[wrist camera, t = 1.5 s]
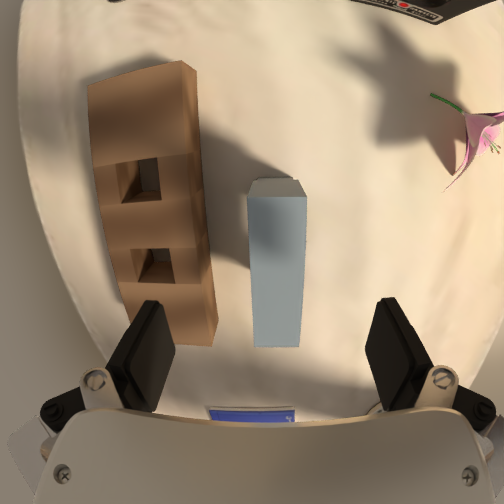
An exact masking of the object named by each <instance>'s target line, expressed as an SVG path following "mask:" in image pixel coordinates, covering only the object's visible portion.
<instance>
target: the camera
mask: <svg viewBox="0 0 504 504" xmlns="http://www.w3.org/2000/svg"><path fill="white" fill-rule="evenodd" d="M350 1H355V2H360V3H365V4H369V5H373V6H377V7H381V8H385V9H389V10H392V11H396V12H399V13H402V14H405V15H408V16H411V17H414V18H417V19H420V20H423V21H425V22H428V23H430V24H433V25H438V24H440V23H442V22H444V21H446V20H448V19H451V18H453V17H455V16H458V15H460V14H462V13H465V12H467V11H469V10H472V9H474V8H477V7H480V6H482V5H485V4H488V3H491V2H493V1H496V0H350Z"/></svg>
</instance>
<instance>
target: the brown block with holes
mask: <svg viewBox="0 0 504 504" xmlns="http://www.w3.org/2000/svg"><path fill="white" fill-rule="evenodd" d="M88 117H89V132H90V144H91V154H92V162H93V170H94V177H95V184H96V190H97V196H98V202H99V208H100V213H101V218H102V223H103V228H104V232H105V237H106V241H107V245H108V249H109V253H110V257H111V261H112V265H113V269H114V272H115V276H116V279H117V283H118V286H119V290H120V293H121V296H122V299H123V302H124V306H125V309H126V312H127V315H128V318H129V320H130V323H132V321H133V320H134V318H135V316H136V315H137V313H138V311H139V310H140V308H141V306H142V305H143V303H144V301H145V300H157V301H159V303H160V304H162V305H163V307H164V310H165V314H166V318H167V321H168V325H169V328H170V332H171V335H172V338H173V342H174V344H183V345H196V346H212V343H213V339H214V336H215V332H216V328H217V324H218V313H217V306H216V299H215V291H214V283H213V275H212V267H211V258H210V249H209V240H208V231H207V221H206V211H205V200H204V189H203V177H202V164H201V150H200V135H199V119H198V99H197V74H196V70H194V69H193V68H192V67H190V66H189V65H187V64H186V63H185V62H183V61H182V60H181V61H175V62H170V63H165V64H160V65H156V66H152V67H147V68H143V69H139V70H136V71H132V72H128V73H125V74H121V75H118V76H115V77H112V78H109V79H106V80H103V81H100V82H97V83H94V84H91V85H88ZM156 157H157V162H158V172H159V181H160V189H161V190H157V191H146V192H142V187H141V180H140V171H139V163H138V160H141V159H148V158H156ZM151 248H169V251H170V256H171V262H154V259H153V254H152V249H151Z"/></svg>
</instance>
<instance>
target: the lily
mask: <svg viewBox="0 0 504 504" xmlns="http://www.w3.org/2000/svg"><path fill="white" fill-rule="evenodd" d="M430 96H432V97H434V98H437V99H439V100H441V101H443V102H445V103H447V104H449V105H451V106H452V107H454V108H455V109H457V110H458V111H459V112H460V113H462V114H463V115H464V117H465V122H466V154H465V159H464V161H463V163H462V165H461V166H460V167H459V169H458V170H457V171H456V172H455V173H454V174H453V175H455V174H456V173H457V172H458V171H459V170H460V169H461V168H462V167H463V166H464V165H465V164H466V166H465V168H464V169H463V171H462V172H461V173H460V175H459V176H458V177H457V178H456V179H455V180H454V181H453V182H452V183H451V184H450V185H449V186H448V187H447V188H446V189H445V190H447V189H448V188H449V187H451V186H452V185H453V184H454V183H455V182H456V181H457V180H458V179H459V178H460V176H461V175H462V173H463V172H464V171H465V170H466V169H467V168H468V166H469V165H470V164H471V162H472V161H473V159H474V157H475V155H476V156H481V155H483V154H484V153H485V151H486V150H487V148H488V147H489V146H491V144H492V145H493V143H494V142H493V141H494V140H495V139H496V138H497V137H498V136H499V134H500V131H501V129H500V126H499V124H500V123H502V122H503V121H504V112H499V113H484V114H468V113H466V112H464V111H463V110H461V109H460V108H459V107H457V106H456V105H454V104H453V103H451V102H449V101H447V100H445V99H443V98H441V97H439V96H437V95H434V94H432V93H431V94H430ZM492 142H493V143H492ZM494 144H495V143H494ZM495 145H496V144H495ZM496 146H497V145H496ZM493 147H494V148H495V149H496V151H497V153H499V151H498V150H497V148H496V147H495V146H494V145H493ZM497 147H499V148H500V146H497ZM490 148H491V151H492V150H493V149H492V146H491V147H490ZM500 149H501V148H500ZM492 153H493V151H492ZM499 154H500V153H499ZM445 190H444V191H445ZM444 191H443V192H444Z"/></svg>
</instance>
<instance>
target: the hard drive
mask: <svg viewBox="0 0 504 504" xmlns="http://www.w3.org/2000/svg"><path fill="white" fill-rule="evenodd" d="M209 412H210V415H211V417H212V419H213V420H214V421H229V422H253V423H282V422H295V407H283V408H219V407H210V410H209Z"/></svg>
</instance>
